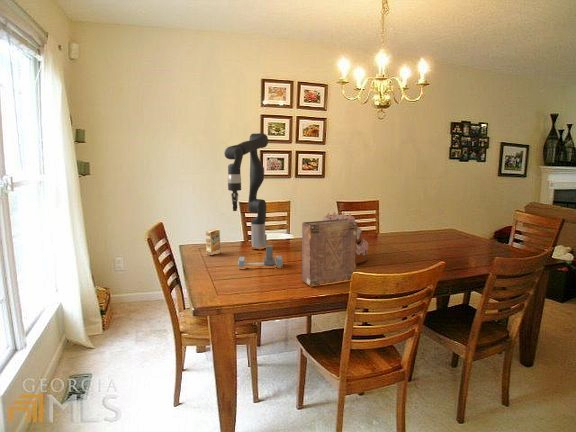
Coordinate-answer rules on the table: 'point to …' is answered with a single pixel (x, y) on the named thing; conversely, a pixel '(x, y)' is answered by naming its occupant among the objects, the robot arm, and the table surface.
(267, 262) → the block
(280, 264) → the rail
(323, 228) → the book
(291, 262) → the table surface
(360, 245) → the cake
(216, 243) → the candy box
